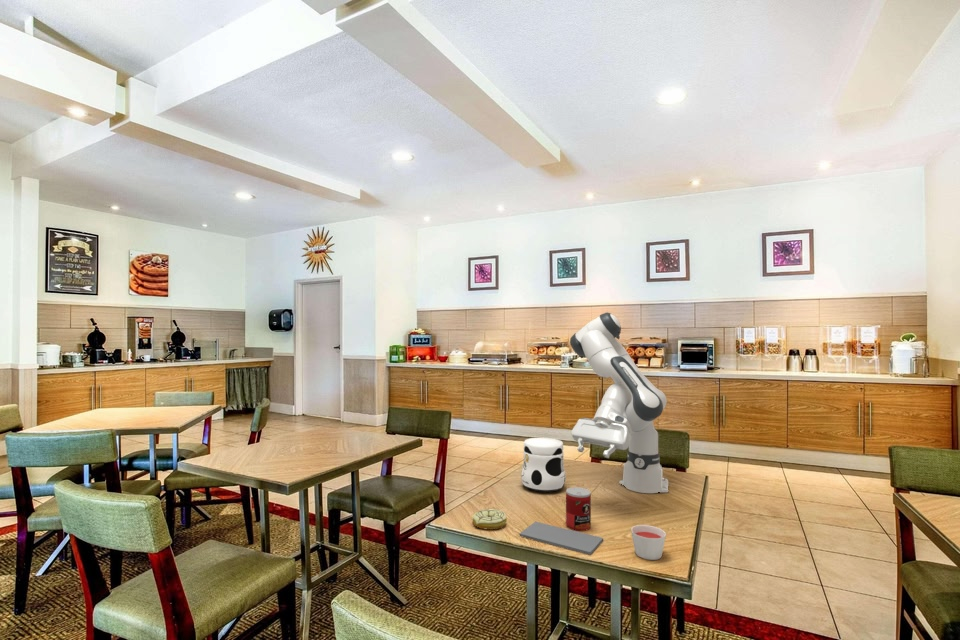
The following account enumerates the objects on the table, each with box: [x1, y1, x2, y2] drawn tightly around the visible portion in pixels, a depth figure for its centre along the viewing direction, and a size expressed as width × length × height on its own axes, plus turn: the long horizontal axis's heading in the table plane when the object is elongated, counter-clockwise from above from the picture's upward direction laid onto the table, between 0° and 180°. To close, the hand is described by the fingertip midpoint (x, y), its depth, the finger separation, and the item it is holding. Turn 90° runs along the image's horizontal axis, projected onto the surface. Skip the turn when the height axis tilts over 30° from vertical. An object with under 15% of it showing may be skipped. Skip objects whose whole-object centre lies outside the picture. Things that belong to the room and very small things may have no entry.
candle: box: [630, 524, 667, 561], centre depth 132 cm, size 9×9×6 cm
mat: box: [518, 521, 604, 556], centre depth 142 cm, size 11×22×1 cm, turn 58°
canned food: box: [565, 486, 592, 532], centre depth 151 cm, size 8×8×11 cm
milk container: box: [520, 437, 567, 493], centre depth 188 cm, size 17×17×18 cm
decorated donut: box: [472, 508, 508, 530], centre depth 152 cm, size 10×11×4 cm
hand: (592, 453), depth 160 cm, fingers open, 8 cm apart
